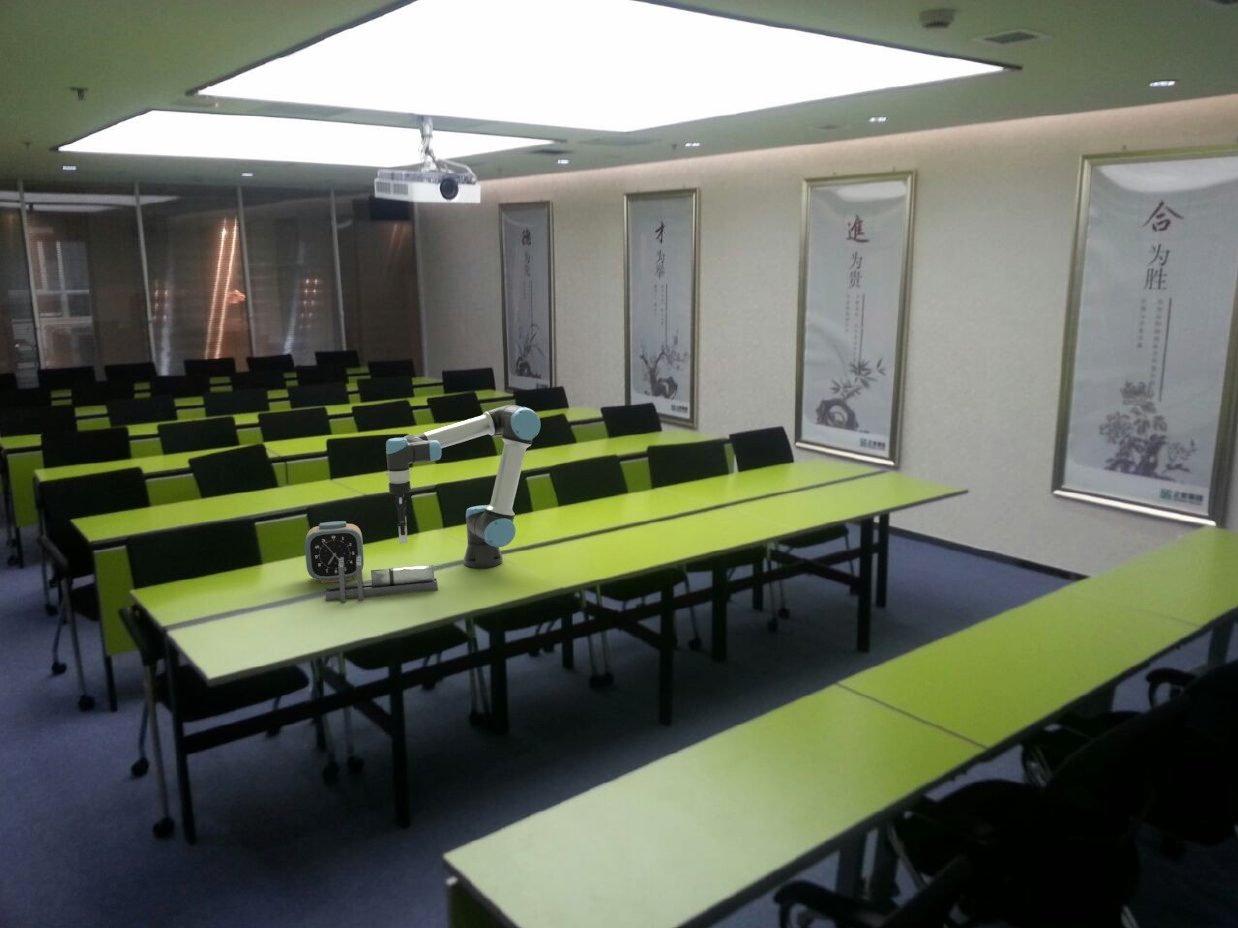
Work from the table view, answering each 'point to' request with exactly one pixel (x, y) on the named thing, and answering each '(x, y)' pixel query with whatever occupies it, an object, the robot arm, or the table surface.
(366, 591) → the gray metal rack
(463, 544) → the table surface
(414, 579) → the tube
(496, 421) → the robot arm
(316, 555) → the alarm clock
